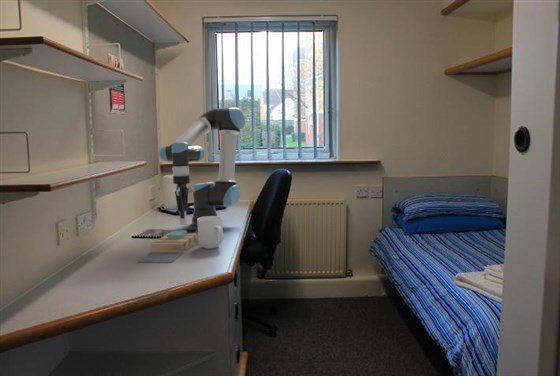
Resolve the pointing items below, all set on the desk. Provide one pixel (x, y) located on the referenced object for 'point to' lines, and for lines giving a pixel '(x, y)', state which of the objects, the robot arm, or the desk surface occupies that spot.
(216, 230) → the mug
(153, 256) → the mat
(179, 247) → the board
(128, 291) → the desk surface
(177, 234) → the teal rectangular block
